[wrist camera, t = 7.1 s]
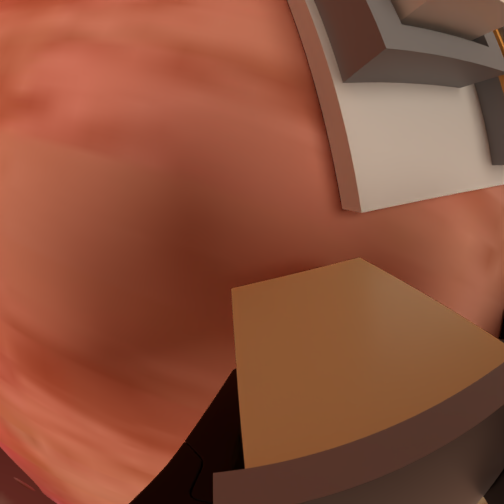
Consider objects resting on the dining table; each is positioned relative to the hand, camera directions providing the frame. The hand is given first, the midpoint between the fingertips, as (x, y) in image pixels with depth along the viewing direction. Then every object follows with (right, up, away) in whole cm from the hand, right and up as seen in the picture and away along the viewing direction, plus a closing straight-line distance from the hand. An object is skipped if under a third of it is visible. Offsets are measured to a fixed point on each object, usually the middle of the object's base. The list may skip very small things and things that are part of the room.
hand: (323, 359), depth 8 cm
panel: (+8, +16, +3) cm, 18 cm away
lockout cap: (0, 0, +2) cm, 2 cm away
